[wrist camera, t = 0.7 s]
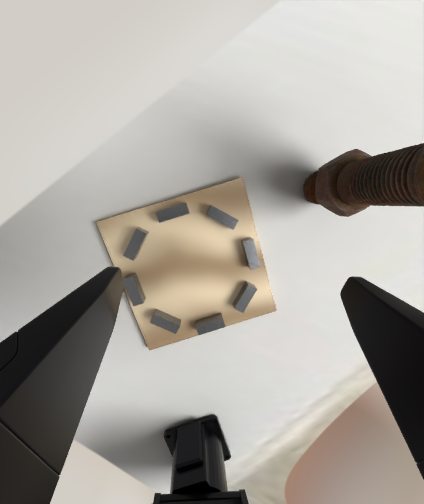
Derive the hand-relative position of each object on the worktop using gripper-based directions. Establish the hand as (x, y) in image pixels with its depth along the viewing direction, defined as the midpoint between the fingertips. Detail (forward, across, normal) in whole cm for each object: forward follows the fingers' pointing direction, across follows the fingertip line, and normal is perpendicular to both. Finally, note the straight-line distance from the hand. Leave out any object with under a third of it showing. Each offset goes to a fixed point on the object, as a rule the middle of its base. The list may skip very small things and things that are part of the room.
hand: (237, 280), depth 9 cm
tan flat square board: (+11, +2, +9) cm, 14 cm away
